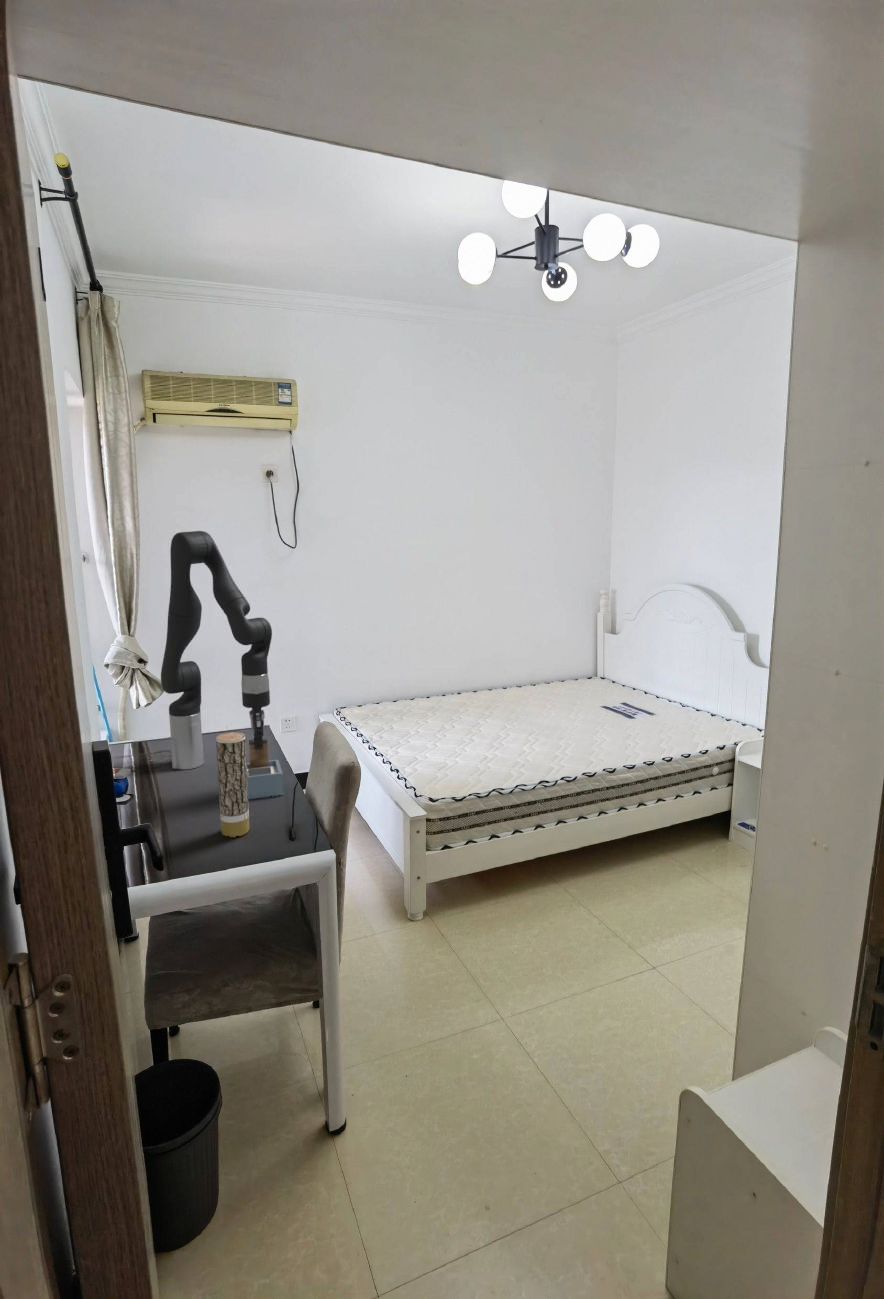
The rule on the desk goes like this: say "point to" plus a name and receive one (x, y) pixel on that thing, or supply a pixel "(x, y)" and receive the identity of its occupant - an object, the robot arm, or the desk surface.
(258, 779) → the blue open box
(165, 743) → the desk surface
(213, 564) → the robot arm
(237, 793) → the bark log cylinder
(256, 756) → the wooden plank
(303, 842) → the desk surface
